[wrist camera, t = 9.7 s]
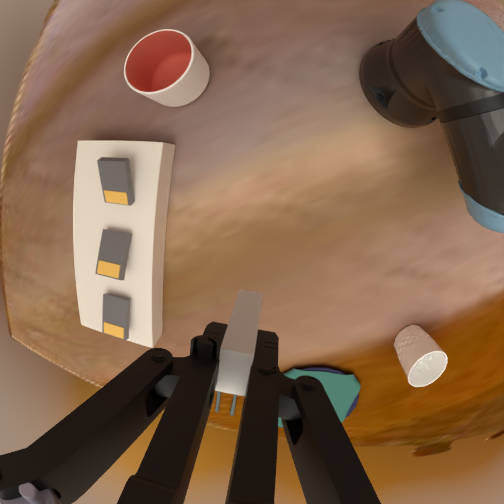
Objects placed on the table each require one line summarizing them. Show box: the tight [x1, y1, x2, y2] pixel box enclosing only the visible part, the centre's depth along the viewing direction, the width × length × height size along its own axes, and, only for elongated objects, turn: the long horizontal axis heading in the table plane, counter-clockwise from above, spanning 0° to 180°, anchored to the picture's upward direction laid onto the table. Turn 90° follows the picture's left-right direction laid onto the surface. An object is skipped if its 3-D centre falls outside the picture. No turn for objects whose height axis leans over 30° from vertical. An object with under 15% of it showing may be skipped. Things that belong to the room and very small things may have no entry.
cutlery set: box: [215, 367, 360, 427], centre depth 52 cm, size 20×30×2 cm, turn 82°
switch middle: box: [95, 229, 132, 280], centre depth 39 cm, size 7×5×1 cm
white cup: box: [394, 325, 448, 387], centre depth 42 cm, size 8×8×10 cm
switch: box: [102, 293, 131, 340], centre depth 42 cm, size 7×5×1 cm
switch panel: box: [73, 141, 175, 348], centre depth 43 cm, size 34×16×6 cm, turn 171°
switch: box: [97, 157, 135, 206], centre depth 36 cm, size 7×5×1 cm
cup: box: [124, 29, 210, 107], centre depth 33 cm, size 10×10×10 cm
